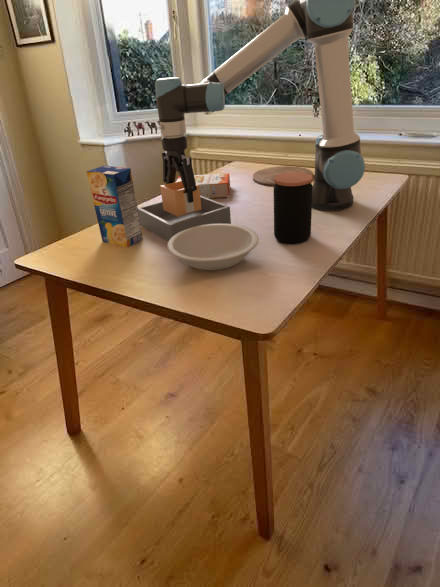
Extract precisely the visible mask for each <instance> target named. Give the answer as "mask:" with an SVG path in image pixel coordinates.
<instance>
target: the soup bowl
mask: <svg viewBox="0 0 440 587" xmlns="http://www.w3.org/2000/svg"><path fill="white" fill-rule="evenodd" d="M258 243H259V235H258V234H257V233H256V231H254V230H253V229H252V228H249V227H247V226H244V225H239V224H234V223H231V224H206V225H200V226H196V227H192V228H189V229H186V230H183V231H181V232H179V233H177V234H176V235H174V236H173V237H172V238H171V239H170V240H169V242H168V241H167V250H168V252H169V253H170V254H171V255H173V256H174V257H177V258H178V259H179V260H180V261H182V262H183V263H184V264H186V265H188V266H190V267H191V268H195V269H198V270H203V271H217V270H224V269H228V268H231V267H233V266H235V265H237V264H239V263H240V262H241V261H243V260H244V259H245V258H246V257H247V256H248V255H249V253H250V252H251V251H252V250H253V249H255V248H256V247H257V245H258Z"/></svg>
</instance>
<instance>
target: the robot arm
mask: <svg viewBox="0 0 440 587" xmlns="http://www.w3.org/2000/svg"><path fill="white" fill-rule="evenodd" d="M355 2H356V0H293V1H292V2H290V4H289V5H286V7H285V11H284V12H285V13H283V14H282V15H281V16H279V18H277V19H276V20H275V21H274V22H272V23H271V24H270V25H269V26H268V27H266V28H264V30H263V31H262V32H260V33H259V34H258V35H257V36H255V37H254V38H253V39H252V40H250V41H248V43H247V44H246V45H244V46H243V47H242V48H240V49H239V50H238V51H237V52H235V53H234V54H233V55H232V56H231V57H229V58H228V59H227V60H226V61H224V62H223V63H222V64H221V65H220V66H218V67H217V68H216V69H214V70H213V72H211V73H210V74H209V75H207V77H205V78H203V79H202V80H201V81H199V83H193V84H192V83H190V84H183V83H182V80H181V78H180V77H178V76H177V77H176V76H175V77H162V78H161V77H160V78H158V79H156V81H155V82H154V84H155V85H154V88H155V89H154V90H155V100H156V106H157V114H158V121H159V127H158V128H159V130H160V135H161V136H162V137H161V145H162V151H164V152H161V157H162V178H163V180H162V181H163V182H164V183H165V184H169V183H173V182H176V175H177V172H178V173H179V174H178V176H180V178H181V180H182V183H183V186H184V189H185V191H184V192H183V193H184V199H185V208H186V213H189V212H193V211H194V202H193V201H194V200H193V191H195V190H197V187H196V182H195V178H194V175H195V173H194V169H193V164H192V162H193V161H192V160H193V159H192V157H191V156H188V157H187V156H186V153H185V150H186V149H187V148H188V140H187V139H188V138H187V135H186V134H187V127H186V118H185V114H193V113H195V114H197V113H215V112H221V111H222V112H223V110H224V109H225V104H226V103H225V102H226V101H225V98H226V97H225V96H227V95H228V94H229V93H231V92H232V91H233V90H234V89H235V88H237V87H238V86H239V85H240V84H242V83H244V82H245V81H246V80H248V78H250V77H251V76H252V75H254V74H255V73H256V72H258V70H260V69H262V67H264V66H265V65H267V63H269V62H270V61H272V60H273V59H274V58H276V57H277V56H278V55H279V54H281V53H282V52H284V51H285V50H286V49H287V48H288V47H290V46H291V45H293V43H295V42H296V41H298V40H299V39H301V40H305V39H306V38H307V41H308V42H309V43H311V44H312V45H313V46H314V54H315V63H316V65H315V66H316V73H317V74H316V75H317V84H318V96H319V104H320V114H321V124H322V134H321V135H319V136H317V137H316V140H315V144H314V147H315V154H314V177H313V179H314V180H313V184H312V186H313V188H312V209H316V210H318V211H330V212H331V211H334V212H335V211H342V210H346V209H349V208H351V207H352V206H353V205H354V198H355V197H354V194H353V190H352V187H354V186H356V185H357V184H358V183H359V181H361V180H362V178H363V176H364V174H365V170H366V164H365V163H366V162H365V159H364V157H363V156H362V152H361V151H362V150H361V149H362V148H361V136H360V135H358V134H357V133H356V132H355V127H354V125H355V124H354V110H353V98H352V96H353V95H352V83H351V81H352V80H351V68H350V66H351V65H350V52H349V50H350V48H349V37H350V35H351V34H352V32H353V31H354V22H353V21H354V18H353V10H354V7H355ZM187 187H188V188H187Z"/></svg>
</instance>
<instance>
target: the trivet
mask: <svg viewBox="0 0 440 587" xmlns="http://www.w3.org/2000/svg"><path fill="white" fill-rule="evenodd" d="M288 172H302V173H308V174H310V175H312V176H313V177H314V173H313V171H312V170H311V169H309V168H306V167H301V166H289V165H287V166H286V165H285V166H282V165H281V166H273V167H266V168H263V169H259V170H258V171H257V170H256V171H255V172H254V173H253V174H252V181H253V182H254V183H255V184H258V185H261V186H265V187H274V185H275V183H274V177H275V176H276V175H279V174H282V173H288Z"/></svg>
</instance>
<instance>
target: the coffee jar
mask: <svg viewBox="0 0 440 587" xmlns="http://www.w3.org/2000/svg"><path fill="white" fill-rule="evenodd" d="M313 179H314V175H313V176H312V175H310V174H308V173H302V172H288V173H282V174H279V175H276V176H275V177H274V183H275V185H274V186H273V235H274V238H275V239H276V240H277V241H278V242H279V243H281V244H284V245H300V244H303V243H305V242H307V241H308V240H309V239H310V237H311V235H312V217H313V216H312V214H313V212H312V211H313V208H312V188H313V184H312V182H313V181H314V180H313Z"/></svg>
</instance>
